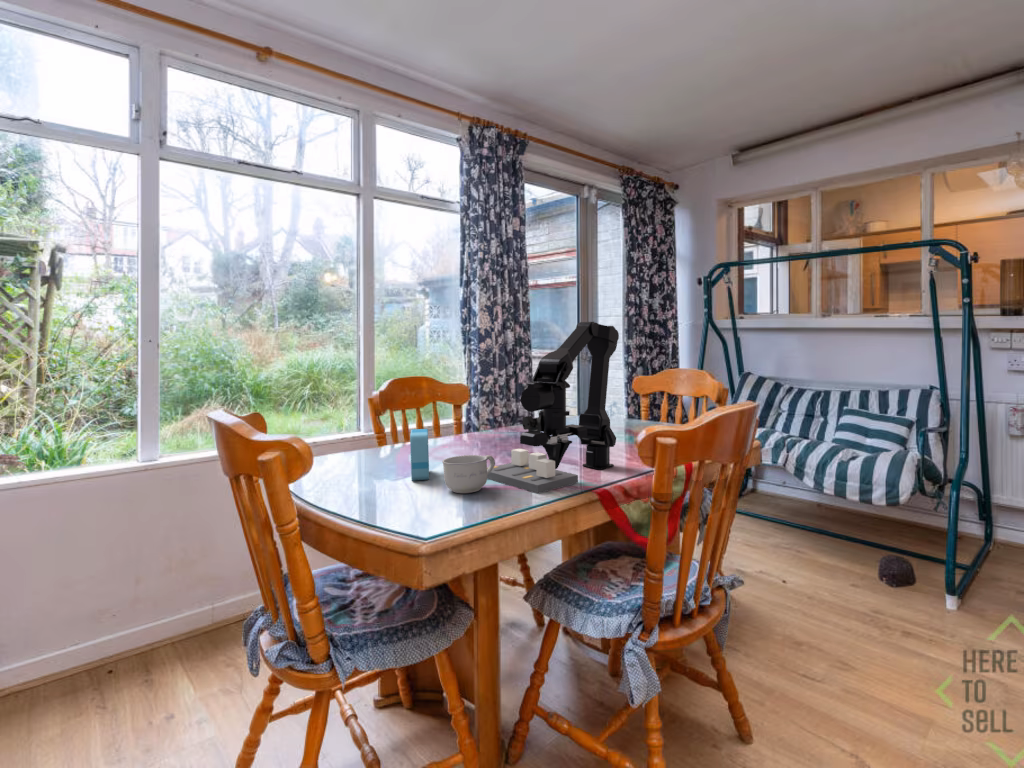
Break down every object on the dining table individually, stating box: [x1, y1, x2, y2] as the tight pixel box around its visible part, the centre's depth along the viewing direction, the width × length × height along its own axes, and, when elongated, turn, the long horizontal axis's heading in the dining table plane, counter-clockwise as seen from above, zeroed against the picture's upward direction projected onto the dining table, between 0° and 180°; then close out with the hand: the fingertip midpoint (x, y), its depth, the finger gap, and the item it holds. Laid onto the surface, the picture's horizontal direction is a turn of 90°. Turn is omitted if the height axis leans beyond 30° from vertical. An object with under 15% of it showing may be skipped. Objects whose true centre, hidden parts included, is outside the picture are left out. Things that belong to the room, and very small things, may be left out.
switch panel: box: [487, 462, 579, 494], centre depth 150 cm, size 14×22×2 cm, turn 41°
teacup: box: [442, 454, 496, 494], centre depth 141 cm, size 14×11×8 cm
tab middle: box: [528, 451, 548, 470], centre depth 152 cm, size 3×4×4 cm
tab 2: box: [536, 458, 556, 478], centre depth 144 cm, size 3×4×4 cm
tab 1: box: [510, 448, 529, 466], centre depth 157 cm, size 3×4×4 cm
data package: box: [409, 428, 430, 482], centre depth 155 cm, size 12×4×12 cm, turn 8°
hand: (554, 468), depth 146 cm, fingers closed
